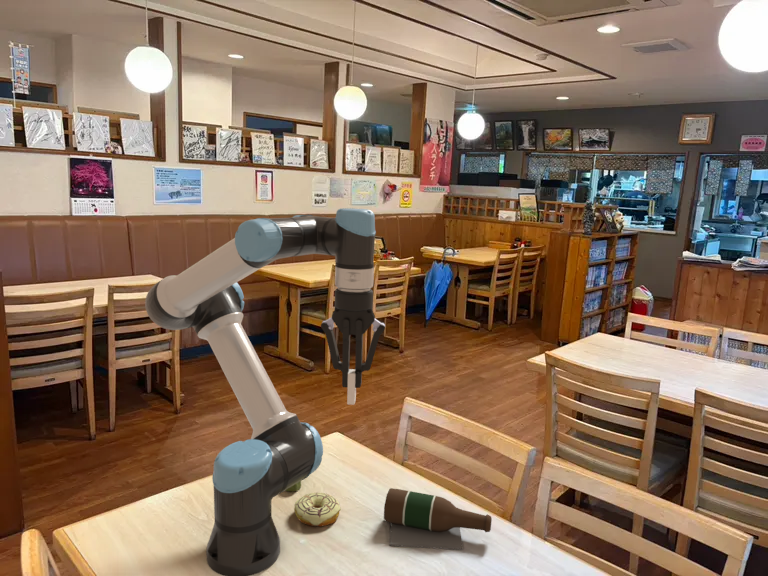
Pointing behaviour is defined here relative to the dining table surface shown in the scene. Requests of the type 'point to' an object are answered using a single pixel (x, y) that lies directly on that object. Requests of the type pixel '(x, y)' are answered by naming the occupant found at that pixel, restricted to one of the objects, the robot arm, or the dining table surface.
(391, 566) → the dining table surface
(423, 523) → the beer bottle
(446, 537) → the mat
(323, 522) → the decorated donut
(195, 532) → the dining table surface
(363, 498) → the dining table surface
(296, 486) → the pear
